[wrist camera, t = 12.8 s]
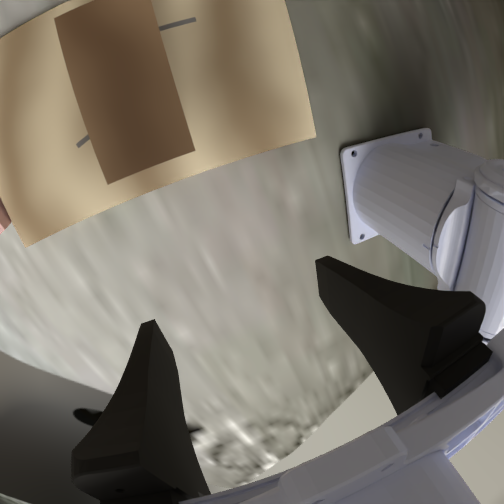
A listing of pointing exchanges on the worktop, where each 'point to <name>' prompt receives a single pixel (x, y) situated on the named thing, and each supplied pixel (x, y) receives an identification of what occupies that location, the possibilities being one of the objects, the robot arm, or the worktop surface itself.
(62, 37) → the block
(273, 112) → the board
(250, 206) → the worktop surface
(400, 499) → the robot arm
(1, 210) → the eraser crumb
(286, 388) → the worktop surface
